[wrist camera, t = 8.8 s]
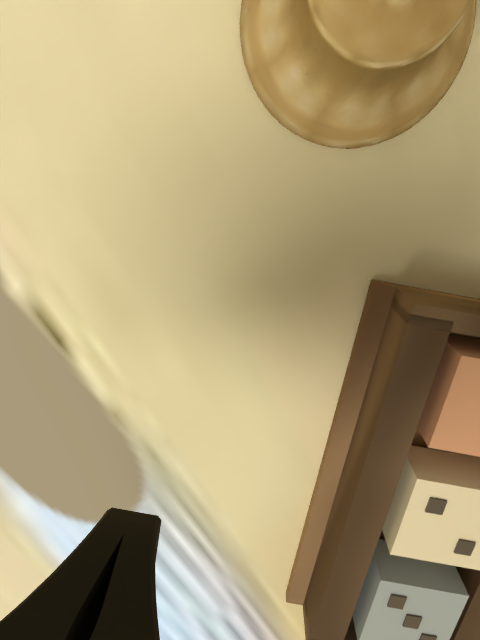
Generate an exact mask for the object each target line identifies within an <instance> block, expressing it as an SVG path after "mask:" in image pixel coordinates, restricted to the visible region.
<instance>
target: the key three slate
mask: <svg viewBox="0 0 480 640" xmlns="http://www.w3.org/2000/svg"><path fill="white" fill-rule="evenodd" d="M468 598H469V594H468V592H467V590H466V588H465V586H464V584H463V582H462V580H461V577H460V575H459V573H458V571H457V569H456V567H455V566H452V565H447V564H441V563H435V562H430V561H424V560H418V559H413V558H407V557H402V556H396V555H390V553H389V550H388V546H387V543H386V540H383V539H379V540H378V543H377V546H376V549H375V552H374V554H373V557H372V560H371V563H370V566H369V569H368V572H367V575H366V578H365V581H364V583H363V586H362V589H361V592H360V595H359V598H358V601H357V604H356V607H355V610H354V612H353V621H354V626H355V631H356V636H357V640H450V638H451V635H452V633H453V631H454V629H455V627H456V624H457V622H458V620H459V618H460V616H461V613H462V611H463V609H464V607H465V604H466V602H467V600H468Z"/></svg>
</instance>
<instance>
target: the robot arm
mask: <svg viewBox="0 0 480 640" xmlns="http://www.w3.org/2000/svg"><path fill="white" fill-rule="evenodd" d="M160 526H161V519H160V518H159V517H158V516H156V515H150V514H145V513H139V512H133V511H128V510H122V509H116V508H111V509H109V510H107V511H106V513H105V514H104V515H103V517H102V518H101V519H100V521H99V522H98V523H97V524H96V526H95V527H94V528H93V529H92V530H91V532H90V533H89V534H88V535H87V536H86V537H85V539H84V540H83V541H82V542H81V543H80V544H79V545H78V546H77V548H76V549H75V550H74V551H73V552H72V553H71V554H70V555H69V556H68V557H67V558H66V559H65V560H64V561H63V562H62V564H61V565H60V566H59V567H58V568H57V569H56V570H55V571H54V572H53V573H52V574H51V575H50V576H49V577H48V578H47V579H46V580H45V581H44V582H43V583H42V584H41V585H40V586H38V587H37V588H36V589H35V590H34V591H33V592H32V593H31V594H30V595H29V596H28V597H27V598H26V599H25V600H24V601H23V602H22V603H21V604H19V605H18V606H17V607H16V608H15V609H14V610H13V611H12V612H10V613H9V614H8V615H7V616H6V617H5V618H4V619H2V620H1V621H0V640H160V637H159V628H158V618H157V606H156V585H155V561H156V554H157V547H158V540H159V533H160Z"/></svg>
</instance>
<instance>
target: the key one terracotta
mask: <svg viewBox="0 0 480 640" xmlns="http://www.w3.org/2000/svg"><path fill="white" fill-rule="evenodd" d="M417 429H418V430H419V432H420V434H421V435H422V437H423V439H424V441H425V442H426V444H427V446H428V448H433V449H439V450H444V451H450V452H456V453H461V454H467V455H472V456H478V457H480V340H478V339H473V338H467V337H462V336H456V335H451V334H449V337H448V340H447V343H446V346H445V349H444V351H443V354H442V357H441V360H440V363H439V366H438V369H437V372H436V375H435V378H434V380H433V383H432V386H431V389H430V392H429V395H428V398H427V401H426V404H425V407H424V409H423V412H422V415H421V418H420V421H419V424H418V427H417Z"/></svg>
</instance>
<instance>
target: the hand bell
mask: <svg viewBox="0 0 480 640" xmlns="http://www.w3.org/2000/svg"><path fill="white" fill-rule="evenodd" d="M475 9H476V0H242V4H241V14H240V38H241V47H242V54H243V58H244V63H245V66H246V69H247V72H248V75H249V77H250V80H251V82H252V85H253V87H254V89H255V91H256V93H257V95H258V97H259V98H260V100H261V101H262V103H263V104H264V105H265V107H266V108H267V109H268V111H269V112H270V113H271V114H272V115H273V116H274V117H275V118H276V119H277V120H278V121H279V122H280V123H281V124H282V125H283V126H284V127H286V128H287V129H289V130H290V131H291V132H293V133H294V134H296V135H298V136H300V137H302V138H304V139H306V140H309V141H311V142H314V143H317V144H320V145H323V146H328V147H338V148H346V149H349V148H358V147H364V146H370V145H374V144H377V143H380V142H383V141H386V140H388V139H391V138H393V137H395V136H397V135H399V134H401V133H403V132H405V131H406V130H408V129H410V128H411V127H412V126H414V125H415V124H416V123H418V122H419V121H420V120H421V119H423V118H424V117H425V116H426V115H427V114H428V113H429V112H430V111H431V110H432V109H433V108H434V107H435V106H436V105H437V103H438V102H439V101H440V100H441V99H442V97H443V96H444V95H445V93H446V92H447V91H448V89H449V88H450V86H451V85H452V83H453V81H454V79H455V77H456V76H457V74H458V72H459V70H460V68H461V66H462V64H463V61H464V59H465V57H466V54H467V51H468V47H469V44H470V41H471V37H472V32H473V27H474V20H475Z"/></svg>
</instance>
